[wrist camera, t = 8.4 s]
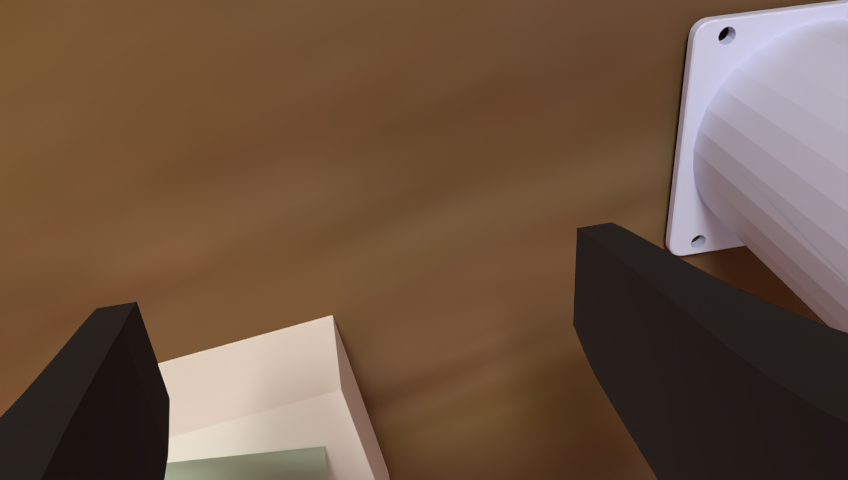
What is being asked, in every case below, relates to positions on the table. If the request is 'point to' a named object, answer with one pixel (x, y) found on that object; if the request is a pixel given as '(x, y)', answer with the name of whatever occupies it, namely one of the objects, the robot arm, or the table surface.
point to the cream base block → (273, 401)
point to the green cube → (254, 466)
